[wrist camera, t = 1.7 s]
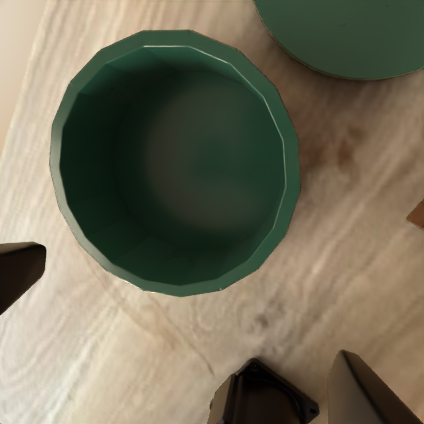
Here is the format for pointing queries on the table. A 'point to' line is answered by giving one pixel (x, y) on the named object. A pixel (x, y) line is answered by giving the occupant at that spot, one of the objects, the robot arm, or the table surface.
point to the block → (417, 216)
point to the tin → (175, 162)
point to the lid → (349, 35)
